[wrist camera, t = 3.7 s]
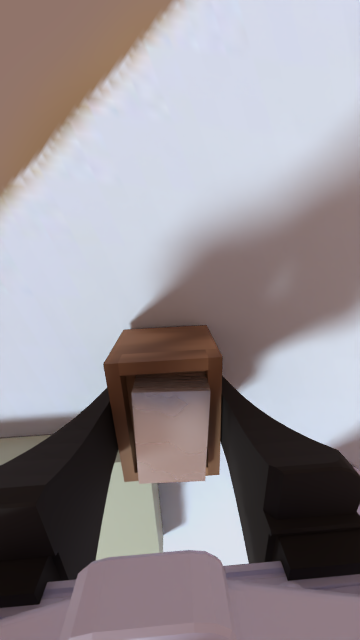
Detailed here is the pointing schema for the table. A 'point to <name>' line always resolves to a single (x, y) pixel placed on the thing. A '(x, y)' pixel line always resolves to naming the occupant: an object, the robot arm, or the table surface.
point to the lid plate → (171, 426)
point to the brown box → (161, 357)
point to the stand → (114, 508)
